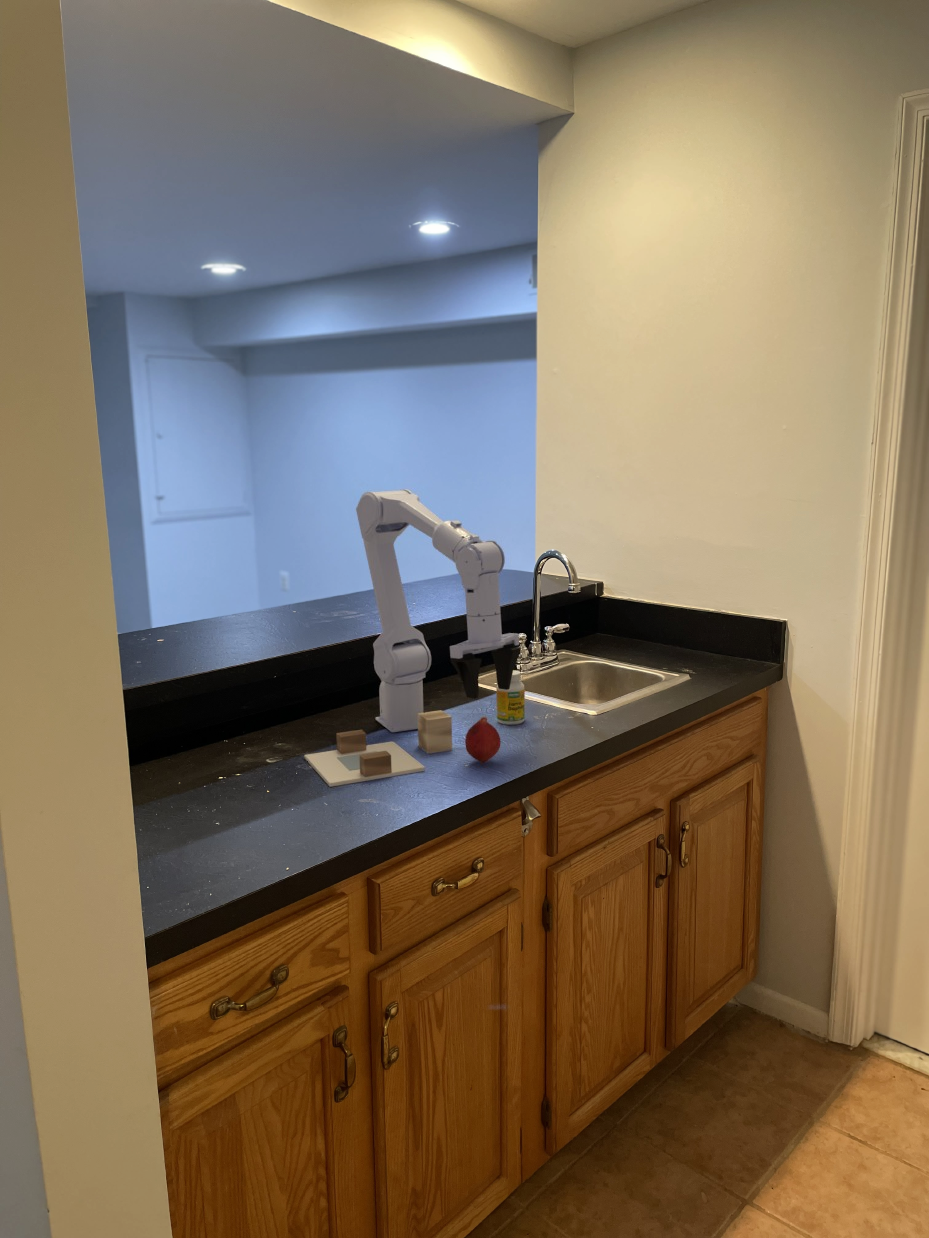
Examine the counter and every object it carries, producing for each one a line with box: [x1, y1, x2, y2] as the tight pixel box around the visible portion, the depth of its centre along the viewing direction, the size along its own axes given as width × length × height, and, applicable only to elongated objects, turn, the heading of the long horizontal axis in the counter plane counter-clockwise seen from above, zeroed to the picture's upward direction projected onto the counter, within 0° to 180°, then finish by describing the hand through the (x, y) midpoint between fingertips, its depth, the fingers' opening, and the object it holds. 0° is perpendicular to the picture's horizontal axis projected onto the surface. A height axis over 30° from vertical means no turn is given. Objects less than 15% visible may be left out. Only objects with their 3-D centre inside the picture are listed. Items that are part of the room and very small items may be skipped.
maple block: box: [417, 709, 453, 754], centre depth 163 cm, size 4×4×6 cm
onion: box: [464, 716, 502, 764], centre depth 155 cm, size 6×6×8 cm
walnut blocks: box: [335, 729, 392, 777], centre depth 156 cm, size 15×4×3 cm, turn 25°
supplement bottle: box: [496, 669, 526, 726], centre depth 178 cm, size 5×5×10 cm
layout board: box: [304, 740, 426, 788], centre depth 156 cm, size 15×16×1 cm
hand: (488, 693), depth 159 cm, fingers open, 7 cm apart
